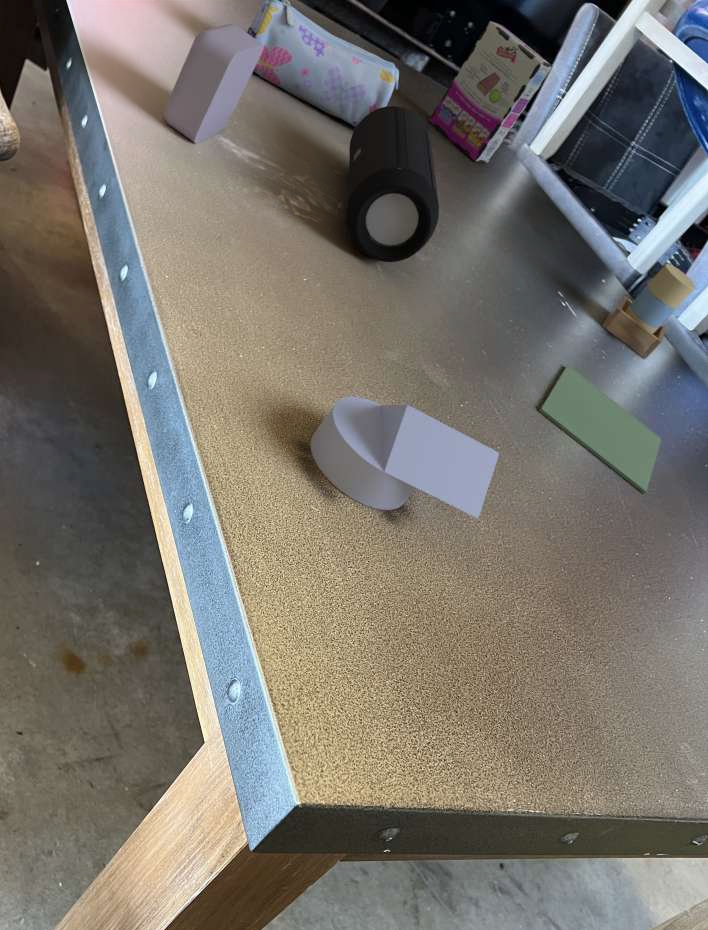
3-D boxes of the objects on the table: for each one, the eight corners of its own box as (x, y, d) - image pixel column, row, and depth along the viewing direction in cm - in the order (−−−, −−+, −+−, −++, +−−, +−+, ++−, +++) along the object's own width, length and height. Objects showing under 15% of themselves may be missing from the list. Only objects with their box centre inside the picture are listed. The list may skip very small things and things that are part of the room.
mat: (659, 441, 113) (661, 438, 113) (643, 494, 101) (646, 491, 101) (565, 367, 114) (567, 364, 114) (538, 411, 101) (541, 408, 101)
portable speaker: (334, 159, 121) (377, 83, 115) (400, 198, 124) (446, 126, 118) (327, 242, 103) (378, 157, 96) (405, 287, 105) (459, 207, 99)
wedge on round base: (444, 478, 82) (312, 411, 79) (493, 420, 78) (356, 347, 74) (452, 547, 76) (308, 478, 72) (506, 488, 71) (356, 411, 68)
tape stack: (643, 341, 136) (697, 283, 129) (639, 351, 132) (694, 291, 125) (615, 319, 136) (667, 260, 129) (610, 329, 132) (663, 268, 126)
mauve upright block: (190, 105, 109) (230, 16, 103) (224, 129, 109) (266, 43, 103) (154, 119, 101) (195, 24, 95) (191, 145, 102) (234, 53, 95)
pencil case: (231, 67, 125) (266, -8, 119) (234, 46, 131) (267, -26, 125) (368, 147, 131) (407, 80, 125) (365, 124, 138) (402, 59, 131)
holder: (650, 344, 136) (666, 328, 135) (645, 359, 131) (661, 342, 129) (609, 312, 137) (624, 295, 135) (601, 325, 131) (617, 308, 129)
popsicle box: (488, 164, 157) (555, 67, 146) (474, 163, 153) (542, 63, 143) (441, 122, 159) (503, 23, 149) (426, 120, 156) (489, 18, 145)
